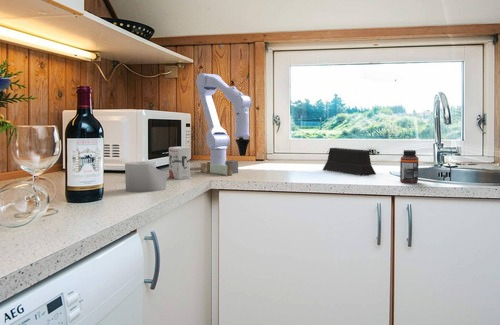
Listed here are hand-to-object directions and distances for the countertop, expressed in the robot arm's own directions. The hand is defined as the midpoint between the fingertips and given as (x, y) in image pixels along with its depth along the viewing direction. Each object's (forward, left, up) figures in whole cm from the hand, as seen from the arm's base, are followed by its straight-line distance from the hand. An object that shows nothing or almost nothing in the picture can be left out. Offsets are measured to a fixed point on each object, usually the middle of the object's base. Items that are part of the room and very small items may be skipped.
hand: (242, 155), depth 183 cm
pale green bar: (+8, -9, -6) cm, 14 cm away
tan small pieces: (+7, -11, -7) cm, 15 cm away
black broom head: (+3, +45, -7) cm, 46 cm away
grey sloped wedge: (+48, -31, -7) cm, 58 cm away
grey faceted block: (+5, -5, -7) cm, 10 cm away
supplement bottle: (+34, +59, -7) cm, 68 cm away
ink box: (+20, -24, -7) cm, 32 cm away
